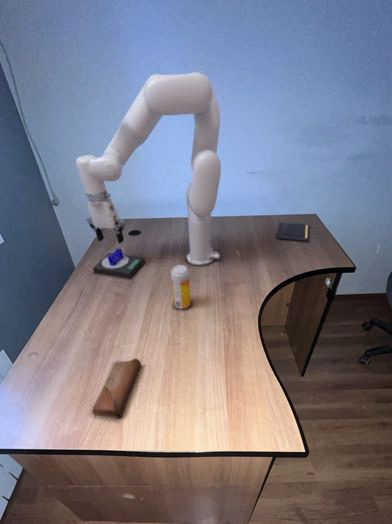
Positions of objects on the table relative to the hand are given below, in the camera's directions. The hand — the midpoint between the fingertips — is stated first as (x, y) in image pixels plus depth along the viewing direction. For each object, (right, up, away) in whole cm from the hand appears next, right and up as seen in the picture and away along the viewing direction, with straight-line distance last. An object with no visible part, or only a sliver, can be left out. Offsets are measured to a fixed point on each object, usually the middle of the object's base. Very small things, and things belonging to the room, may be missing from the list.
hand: (111, 240), depth 112 cm
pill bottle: (+31, -29, -12) cm, 44 cm away
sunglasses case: (+14, -57, -37) cm, 69 cm away
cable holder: (0, -6, +7) cm, 9 cm away
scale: (+1, -9, +8) cm, 12 cm away
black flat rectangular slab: (+87, +16, +27) cm, 93 cm away
